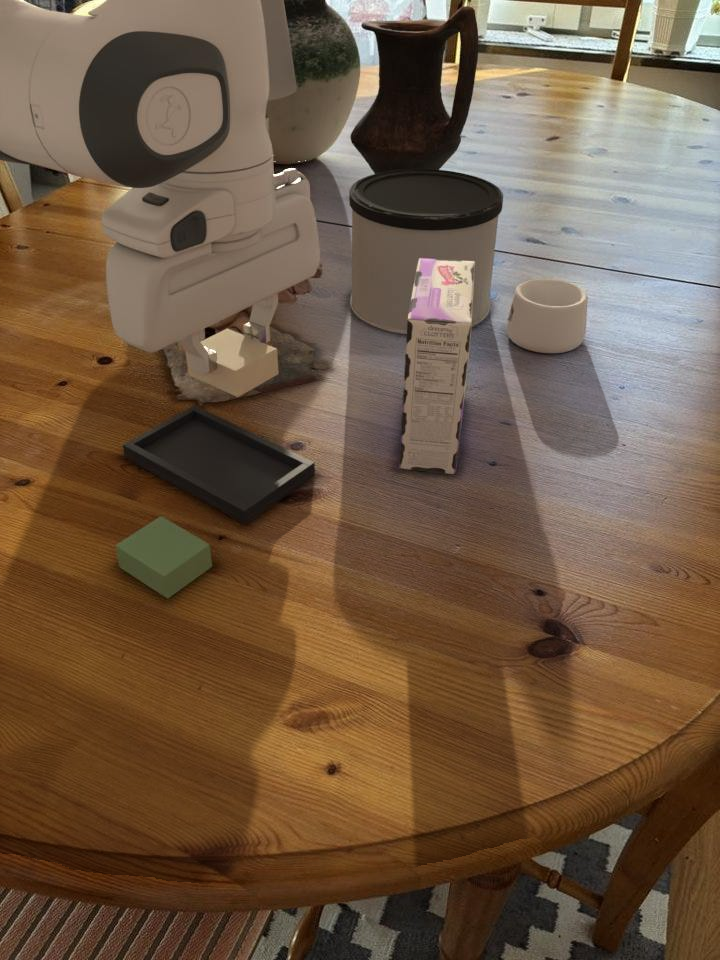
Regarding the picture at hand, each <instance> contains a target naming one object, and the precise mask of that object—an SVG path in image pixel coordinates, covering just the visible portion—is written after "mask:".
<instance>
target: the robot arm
mask: <svg viewBox="0 0 720 960" xmlns="http://www.w3.org/2000/svg"><path fill="white" fill-rule="evenodd" d="M87 14H88V15H83V14H82V15H81V14H75V13H68V12H61V11H57V10H48V9H45V8H42V7H39V6H38V5H37V6H36V5H34V4H32V3H29V1H26V0H0V161H3V162H8V163H15V164H21V165H28V166H36V167H42V168H46V169H49V170H52V171H53V170H54V171H57V172H60V173H65V174H68V175H72V176H75V177H79V178H83V179H88V180H92V181H96V182H99V183H103V184H107V185H110V186H115V187H121V188H129V190H127V191H126V192H125V193H124V194H123V195H121V196H120V197H119V198H118V199H116V200H115V201H114V202H112V203H111V204H110V205H109V206H107V207H106V208H105V209H104V211H103V212H102V213H101V217H100V222H101V223H100V224H101V228H102V232H103V234H104V236H105V237H106V238H108V239H109V240H112V241H113V242H115V243H114V244H113V245H112V247H111V248H110V250H109V251H108V253H107V256H106V257H107V258H106V263H105V280H106V282H105V283H106V293H107V300H108V301H107V302H108V307H109V308H108V309H109V314H110V319H111V324H112V328H113V331H114V333H115V335H116V337H118V338H119V339H120V340H121V341H122V342H124V343H126V344H127V345H129V346H131V347H133V348H135V349H138V350H140V351H142V352H144V353H147V354H154V353H157V352H159V351H161V350H164V349H163V348H165V347H167V346H169V345H171V344H173V343H175V342H177V341H178V342H179V343H180V344H181V345H182V346H183V348H184V349H185V350H186V351H187V352H188V353H189V359H190V366H191V369H192V370H193V372H195V373H197V374H199V375H201V376H205V375H207V374H209V373H211V372H212V371H214V370H216V369H217V362H216V361H217V352H216V351H213V350H211V349H207V348H206V347H204V346H203V345H202V344H201V342H200V340H203V339H205V330H204V328H206V327H208V326H211V325H213V324H215V323H217V322H219V321H221V320H223V319H225V318H227V317H229V316H231V315H233V314H235V313H238V312H240V311H242V310H244V309H246V308H248V307H250V306H252V305H253V308H252V312H251V316H250V320H249V322H248V323H246V324H244V325H243V331H244V333H245V336H247V337H249V338H252V339H254V340H257V341H259V342H262V343H264V344H265V343H267V342H269V341H270V328H269V326H270V325H271V324H272V322H273V319H274V315H275V313H276V310H277V307H278V305H279V302H278V293H279V292H281V291H283V290H285V289H287V288H289V287H291V286H294V285H296V284H298V283H300V282H302V281H304V280H306V279H307V280H308V279H311V278H310V277H312V276H314V275H315V273H316V271H317V268H318V266H319V263H321V248H320V237H319V230H318V223H317V215H316V212H315V208H314V205H313V203H312V201H311V185H310V181H309V179H308V178H307V177H306V176H305V175H304V173H302V172H301V171H298V170H297V168H294V167H293V168H292V167H291V168H286V169H284V170H282V171H280V172H279V173H276V174H275V173H274V172H275V170H274V163H273V150H272V144H271V140H270V138H269V135H268V132H267V127H266V118H265V117H266V107H267V102H268V97H269V69H268V55H267V43H266V33H265V26H264V18H263V12H262V6H261V1H260V0H105V1H104V2H103V3H101V4H100V5H97V7H95V8H93V9H91V10H90V11H88V12H87Z"/></svg>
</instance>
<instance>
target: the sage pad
mask: <svg viewBox="0 0 720 960" xmlns="http://www.w3.org/2000/svg"><path fill="white" fill-rule="evenodd" d="M115 551H116V556H117V557H116V558H117V562H118V567H119V568H120V569H121V570H123V571H124V572H126V573H127V574H129V575H130V576H132V577H133V578H134V579H137V580H138V581H140V582H141V583H143V584H144V585H146V586H147V587H149V588H151V589H152V590H153V591H155V592H156V593H158V594H160V595H161V596H163V597H164V598H166V599H170V598H171V597H172V596H174V595H175V594H177V593H178V592H179V591H181V590H182V589H184V588H185V587H187V586H188V585H189V584H190V583H192V582H193V581H194V580H196V579H197V578H199V577H200V576H202V575H203V574H205V573H206V572H207V571H208V570H210V569H212V567H213V560H212V553H211V552H212V551H211V544H210V543H208V542H206V541H205V540H203V539H201V538H200V537H198V536H196V535H194V534H193V533H191V532H190V531H187V530H186V529H184V528H183V527H181V526H180V525H178V524H176V523H174V522H172V521H171V520H170V519H167V518H165V516H162V515H160V516H159V517H157V518H156V519H154V520H152V521H150V522H149V523H148V524H146V525H144V526H143V527H141V528H140V529H138V530H137V531H135V532H134V533H132V534H131V535H129V536H127V537H126V538H124V539H122V540H121V541H119V542H118V543H116V544H115Z"/></svg>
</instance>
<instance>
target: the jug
mask: <svg viewBox="0 0 720 960" xmlns="http://www.w3.org/2000/svg"><path fill="white" fill-rule="evenodd" d="M360 27H361V28H362V29H363V30H365V31H370V32H373V33H374V35H375V39H376V40H375V41H376V46H377V47H376V48H377V54H378V91H377V94H376V96H375V99H374V101H373V102H372V104H371V105H370V106H369V108H368V110H367V111H366V112H365V113H364V115H362V117H361V118H360V120H358V121H357V123H356V124H355V126H354V128H353V130H352V131H351V133H350V142H351V144H352V146H354V148H355V149H356V151H357V152H358V153H359V154H360V155H361V157H362V158H363V159H364V160H365V162H366V164H367V165H368V166H369V168H370V170H371V171H372V172H373V174H377V173H382V172H387V171H394V170H404V169H435V170H441V168H443V166H444V165H445V164H446V163H447V162H448V161H449V159H451V157H453V156H454V154H455V153H456V152H457V150H458V149H459V148H460V144H461V142H462V137H461V135H462V133H463V131H464V127H465V126H466V123H467V120H468V117H469V112H470V107H471V105H472V100H473V93H474V87H475V81H476V73H477V66H478V61H479V60H478V59H479V29H478V21H477V16H476V10H475V9H474V7H473V6H469V5H465V6H464V5H462V6H461V7H460V8H459V9H458V10H456V11H455V13H454V14H452V16H451V17H450V18H449V19H448V20H437V19H418V20H412V19H402V20H400V19H399V20H369V21H366V22H362V23H361V25H360ZM457 34H459V43H460V47H459V60H458V61H459V62H458V73H457V79H456V84H455V90H454V97H453V101H452V108H451V114H449V112H448V110H447V109H446V106H445V104H444V101H443V100H444V99H443V97H442V78H443V77H442V75H443V64H444V63H443V62H444V54H445V49H446V44H447V41H448V40H449V39H450V38H451V37H452V36H454V35H457Z"/></svg>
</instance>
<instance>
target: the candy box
mask: <svg viewBox="0 0 720 960" xmlns="http://www.w3.org/2000/svg"><path fill="white" fill-rule="evenodd" d="M474 272H475V261H459V260H438V259H423V258H419V261H418V265H417V270H416V275H415V280H414V286H413V291H412V297H411V302H410V308H409V314H408V320H407V334H406V337H405V338H406V339H405V356H404V357H405V358H404V373H403V390H402V392H403V393H402V406H401V408H402V411H401V413H402V414H401V425H400V427H401V429H400V446H399V447H400V448H399V464H398V468H399V469H402V470H409V471H418V472H429V473H435V474H445V475H454V474H456V472H457V465H458V455H459V446H460V439H461V438H460V437H461V429H462V423H463V416H464V415H463V413H464V405H465V396H466V388H467V387H466V386H467V380H468V379H467V377H468V368H469V359H470V350H471V349H470V348H471V337H472V327H471V326H472V313H473V296H474Z"/></svg>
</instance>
